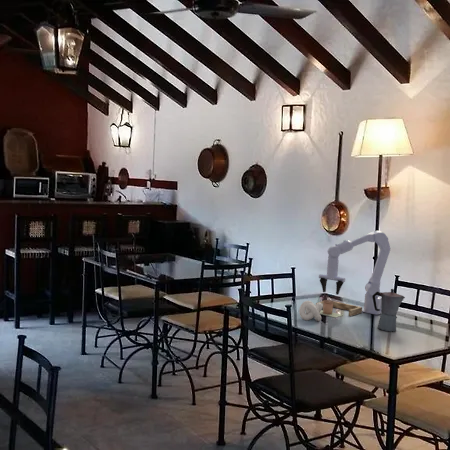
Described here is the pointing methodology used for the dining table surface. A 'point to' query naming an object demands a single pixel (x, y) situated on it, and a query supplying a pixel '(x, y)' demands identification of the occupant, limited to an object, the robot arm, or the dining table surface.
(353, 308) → the tan wooden bent bar
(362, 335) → the dining table surface
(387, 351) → the dining table surface
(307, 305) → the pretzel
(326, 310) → the terracotta pot
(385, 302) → the moka pot
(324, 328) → the dining table surface
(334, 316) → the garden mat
